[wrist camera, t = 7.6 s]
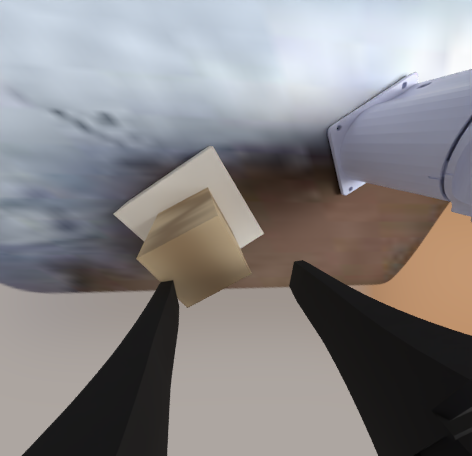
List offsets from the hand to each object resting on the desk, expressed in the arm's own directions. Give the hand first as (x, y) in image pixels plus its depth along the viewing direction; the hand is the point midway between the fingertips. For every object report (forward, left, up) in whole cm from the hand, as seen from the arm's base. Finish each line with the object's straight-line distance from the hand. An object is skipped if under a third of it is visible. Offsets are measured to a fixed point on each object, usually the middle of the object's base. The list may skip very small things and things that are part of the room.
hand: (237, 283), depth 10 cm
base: (+1, -2, -9) cm, 10 cm away
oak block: (+1, -2, -6) cm, 7 cm away
